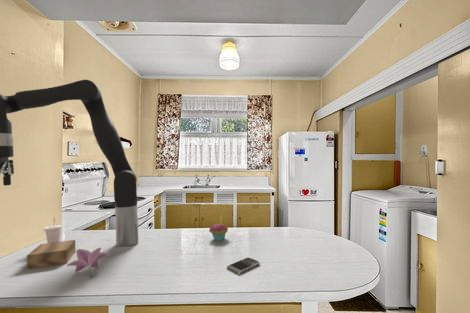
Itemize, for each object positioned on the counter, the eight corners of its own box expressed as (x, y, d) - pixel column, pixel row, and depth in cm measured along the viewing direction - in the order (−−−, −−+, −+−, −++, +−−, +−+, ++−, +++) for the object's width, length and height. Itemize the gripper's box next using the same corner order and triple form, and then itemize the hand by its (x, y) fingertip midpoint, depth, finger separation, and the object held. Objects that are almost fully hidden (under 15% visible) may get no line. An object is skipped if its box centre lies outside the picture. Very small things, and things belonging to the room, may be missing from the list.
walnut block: (75, 251, 103) (75, 239, 103) (66, 263, 92) (66, 249, 92) (41, 256, 99) (40, 244, 99) (27, 269, 88) (27, 255, 88)
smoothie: (53, 252, 104) (52, 219, 104) (40, 251, 105) (39, 218, 105) (66, 246, 110) (65, 215, 110) (54, 245, 111) (53, 215, 111)
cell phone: (261, 265, 87) (260, 261, 87) (237, 276, 79) (237, 272, 79) (248, 260, 91) (248, 256, 91) (225, 270, 84) (225, 266, 84)
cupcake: (231, 237, 116) (230, 212, 116) (221, 243, 109) (220, 216, 108) (216, 234, 120) (216, 210, 120) (205, 240, 113) (205, 214, 113)
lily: (117, 269, 88) (110, 243, 91) (103, 271, 77) (97, 241, 80) (81, 285, 85) (76, 257, 88) (62, 288, 74) (57, 257, 77)
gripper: (2, 144, 91) (4, 187, 91) (20, 146, 104) (21, 184, 105) (-24, 144, 88) (-23, 189, 89) (-2, 146, 102) (-1, 185, 102)
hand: (1, 186), depth 97 cm, fingers open, 8 cm apart
